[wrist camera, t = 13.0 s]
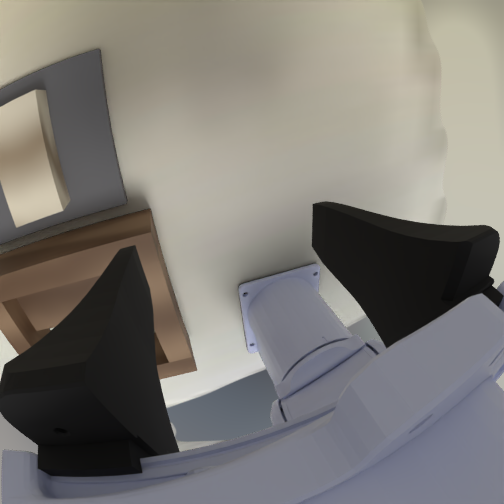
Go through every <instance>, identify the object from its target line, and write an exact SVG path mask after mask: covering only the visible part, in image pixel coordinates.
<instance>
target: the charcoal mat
mask: <svg viewBox="0 0 504 504" xmlns="http://www.w3.org/2000/svg"><path fill="white" fill-rule="evenodd" d="M33 90H46V94H47V101H48V107H49V113H50V119H51V124H52V129H53V134H54V139H55V144H56V148H57V152H58V157H59V161H60V165H61V168H62V172H63V176H64V180H65V183H66V187H67V190H68V193H69V197H70V202H69V203H68V205H67V206H66V208H65V209H64V211H61V212H58V213H55V214H52V215H50V216H47V217H44V218H41V219H38V220H36V221H33V222H30V223H27V224H25V225H22V226H20V227H17V228H16V226H15V223H14V220H13V218H12V215H11V212H10V209H9V206H8V203H7V200H6V197H5V194H4V191H3V188H2V185H1V181H0V245H1V244H3V243H6V242H9V241H11V240H14V239H17V238H19V237H22V236H25V235H28V234H30V233H33V232H36V231H39V230H42V229H45V228H48V227H51V226H54V225H57V224H60V223H63V222H66V221H69V220H72V219H76V218H79V217H82V216H85V215H89V214H92V213H95V212H99V211H102V210H106V209H109V208H113V207H117V206H120V205H124V204H127V197H126V194H125V190H124V186H123V181H122V177H121V173H120V169H119V164H118V160H117V155H116V150H115V145H114V140H113V135H112V130H111V124H110V119H109V113H108V107H107V100H106V93H105V86H104V78H103V70H102V61H101V51H100V49H96V50H93V51H90V52H86V53H83V54H80V55H77V56H75V57H72V58H69V59H66V60H64V61H61V62H58V63H56V64H53V65H51V66H48V67H46V68H44V69H41V70H39V71H37V72H34V73H32V74H30V75H28V76H26V77H24V78H22V79H20V80H18V81H16V82H14V83H12V84H10V85H8V86H6V87H4V88H2V89H0V107H1V106H3V105H5V104H7V103H9V102H10V101H12V100H14V99H16V98H18V97H20V96H23V95H25V94H27V93H29V92H31V91H33Z"/></svg>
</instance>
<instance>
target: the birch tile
mask: <svg viewBox="0 0 504 504" xmlns="http://www.w3.org/2000/svg"><path fill="white" fill-rule="evenodd" d="M0 181H1V185H2V188H3V191H4V194H5V197H6V200H7V203H8V206H9V209H10V212H11V215H12V218H13V220H14V223H15V226H16V228H17V227H20V226H22V225H25V224H27V223H30V222H33V221H36V220H38V219H41V218H44V217H47V216H50V215H52V214H55V213H58V212H61V211H64V209H65V208H66V206H67V205H68V203H69V202H70V197H69V193H68V190H67V187H66V183H65V180H64V176H63V172H62V168H61V165H60V161H59V157H58V152H57V148H56V144H55V139H54V134H53V129H52V124H51V119H50V113H49V107H48V101H47V94H46V90H33V91H31V92H29V93H27V94H25V95H23V96H20V97H18V98H16V99H14V100H12V101H10V102H9V103H7V104H5V105H3V106H1V107H0Z"/></svg>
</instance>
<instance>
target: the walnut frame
mask: <svg viewBox="0 0 504 504" xmlns="http://www.w3.org/2000/svg"><path fill="white" fill-rule="evenodd" d="M133 245H136V249H137V252H138V255H139V258H140V261H141V264H142V267H143V270H144V273H145V276H146V279H147V281H148V284H149V287H150V292H151V298H152V304H153V313H154V331H155V332H154V336H155V353H156V363H157V370H158V375H159V379H163V378H168V377H172V376H176V375H181V374H185V373H189V372H193V371H197V367H196V364H195V360H194V356H193V352H192V348H191V344H190V339H189V336H188V334H187V331H186V328H185V325H184V322H183V319H182V316H181V313H180V310H179V307H178V304H177V301H176V298H175V294H174V291H173V288H172V285H171V282H170V278H169V275H168V272H167V268H166V265H165V261H164V258H163V254H162V251H161V247H160V243H159V240H158V236H157V232H156V228H155V225H154V221H153V217H152V213H151V209H147V210H143V211H139V212H135V213H131V214H127V215H124V216H120V217H116V218H113V219H109V220H105V221H102V222H98V223H95V224H92V225H88V226H85V227H81V228H78V229H75V230H72V231H68V232H65V233H62V234H59V235H56V236H53V237H49V238H46V239H43V240H40V241H37V242H34V243H32V244H29V245H26V246H23V247H20V248H17V249H14V250H12V251H9V252H6V253H3V254H1V255H0V330H1V331H2V333H3V334H4V335H5V337H6V338H7V340H8V341H9V342H10V344H11V345H12V346H13V348H14V349H15V350H16V352H17V353H18V354H19V355H20V354H21V353H23V352H24V351H26V350H27V349H29V348H30V347H31V346H33V345H34V344H35V343H37V342H38V341H39V340H41V339H42V338H43V337H44V336H45V335H47V334H48V333H49V332H50V329H49V328H52V327H56V326H57V325H58V324H59V323H60V322H61V321H62V320H63V319H64V318H65V317H66V316H67V315H68V314H69V313H70V312H71V311H72V310H73V309H74V308H75V307H76V306H77V305H78V304H79V303H80V301H81V300H82V299H83V298H84V297H85V296H86V294H87V293H88V292H89V291H90V289H91V288H92V287H93V285H94V284H95V283H96V281H97V280H98V279H99V278H100V276H101V275H102V273H103V272H104V270H105V269H106V268H107V266H108V265H109V263H110V262H111V261H112V259H113V258H114V256H115V255H116V253H117V252H118V251H119V250H120V249H122V248H126V247H129V246H133Z"/></svg>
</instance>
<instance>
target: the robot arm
mask: <svg viewBox="0 0 504 504" xmlns="http://www.w3.org/2000/svg"><path fill="white" fill-rule="evenodd" d="M499 239H500V237H499V233H498V232H497V231H496V230H495V229H493V228H492V227H490V226H486V225H478V226H477V225H474V226H449V225H436V224H427V223H419V222H413V221H407V220H402V219H397V218H392V217H388V216H384V215H380V214H377V213H373V212H369V211H365V210H362V209H358V208H355V207H351V206H347V205H343V204H339V203H334V202H326V201H325V202H320V203H315V204H313V223H312V247H313V249H314V250H315V252H316V253H317V255H318V257H319V258H320V259H321V261H322V262H323V264H324V265H325V266H326V267H327V268H328V269H329V270H330V272H331V273H332V274H333V275H334V276H335V277H336V278H337V279H338V280H339V282H340V283H341V284H342V285H343V286H344V287H345V288H346V289H347V290H348V291H349V293H350V294H351V295H352V296H353V297H354V298H355V300H356V301H357V302H358V303H359V305H360V306H361V308H362V309H363V310H364V312H365V313H366V315H367V316H368V318H369V319H370V321H371V323H372V324H373V326H374V327H375V329H376V331H377V332H378V334H379V336H380V337H381V339H382V341H380V340H375V339H369V340H368V341H367V342H366V343H364V342H363V341H362V339H361V338H360V337H359V336H358V335H357V334H355V335H354V336H352V334H351V333H350V332H349V331H348V329H347V328H346V327H345V326H344V324H343V323H342V322H341V321H340V319H339V318H338V317H337V316H336V314H335V313H334V312H333V311H332V310H331V308H330V307H329V306H328V305H327V303H326V302H325V301H324V300H323V298H322V297H321V296H320V295H319V294H318V291H319V277H320V266H319V265H318V264H316V263H315V264H311V265H308V266H304V267H301V268H297V269H294V270H290V271H287V272H283V273H280V274H276V275H273V276H269V277H265V278H262V279H258V280H255V281H251V282H247V283H244V284H241V285H240V286H239V288H238V291H239V298H240V304H241V311H242V318H243V324H244V331H245V337H246V344H247V350H248V352H249V353H255V352H259V354H260V356H261V358H262V361H263V363H264V365H265V367H266V369H267V371H268V373H269V375H270V377H271V379H272V381H273V383H274V385H275V390H276V392H277V394H278V396H279V398H280V399H278V400H276V401H274V402H273V403H272V410H271V420H272V424H273V427H270V428H267V429H264V430H261V431H258V432H255V433H252V434H249V435H246V436H242V437H239V438H235V439H232V440H228V441H224V442H221V443H217V444H213V445H209V446H205V447H200V448H196V449H192V450H187V451H182V452H180V451H179V449H178V446H177V443H176V440H175V437H174V434H173V430H172V427H171V424H170V420H169V417H168V413H167V410H166V405H165V401H164V397H163V393H162V389H161V384H160V380H159V375H158V370H157V363H156V353H155V336H154V313H153V304H152V298H151V292H150V287H149V284H148V281H147V279H146V276H145V273H144V270H143V267H142V264H141V261H140V258H139V255H138V252H137V249H136V245H133V246H129V247H126V248H122V249H120V250H119V251H118V252H117V253H116V255H115V256H114V258H113V259H112V261H111V262H110V263H109V265H108V266H107V268H106V269H105V270H104V272H103V273H102V275H101V276H100V278H99V279H98V280H97V281H96V283H95V284H94V285H93V287H92V288H91V289H90V291H89V292H88V293H87V294H86V296H85V297H84V298H83V299H82V300H81V301H80V303H79V304H78V305H77V306H76V307H75V308H74V309H73V310H72V311H71V312H70V313H69V314H68V315H67V316H66V317H65V318H64V319H63V320H62V321H61V322H60V323H59V324H58V325H57V326H56V327H55V328H54V329H53V330H51V331H50V332H49V333H48V334H47V335H45V336H44V337H43V338H42V339H41V340H39V341H38V342H37V343H35V344H34V345H33V346H31V347H30V348H29V349H27V350H26V351H24V352H23V353H21V354H20V355H18V356H17V357H15V358H14V359H12V360H11V361H9V362H8V363H6V364H5V365H4V369H3V373H2V377H1V381H0V412H1V414H2V415H3V417H4V418H5V419H6V420H7V421H8V422H9V423H10V424H11V425H12V426H14V427H15V428H16V429H18V430H19V431H20V432H21V433H23V434H24V435H25V436H26V437H28V438H29V439H31V440H32V441H33V442H35V443H36V444H37V445H38V455H37V454H35V453H32V452H28V451H17V450H3V454H2V504H504V391H503V390H502V389H501V388H500V387H499V385H498V384H497V383H496V380H497V379H498V378H499V377H500V376H501V375H502V373H503V372H504V281H503V282H502V283H501V284H500V285H499V287H498V288H497V289H495V288H494V287H493V286H492V284H493V283H494V279H493V278H491V277H490V276H489V274H490V271H491V268H492V266H493V264H494V261H495V258H496V255H497V252H498V248H499V243H500V240H499ZM314 272H315V274H314ZM245 292H247V293H246V294H243V293H245Z"/></svg>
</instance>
